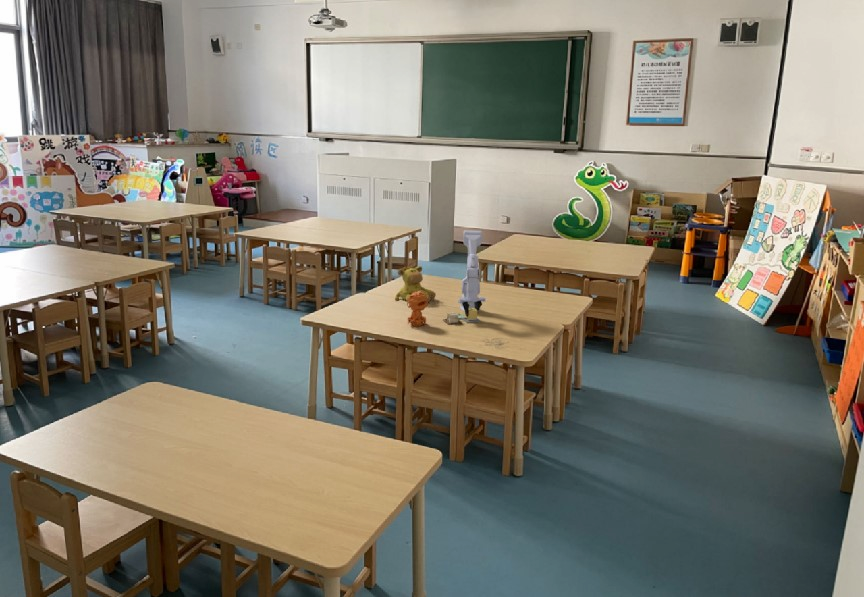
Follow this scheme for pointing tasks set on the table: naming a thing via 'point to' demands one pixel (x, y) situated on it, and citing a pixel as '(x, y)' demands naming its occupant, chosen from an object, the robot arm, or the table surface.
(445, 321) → the tray walnut
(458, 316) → the tray sage
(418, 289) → the green plush bear
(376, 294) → the table surface
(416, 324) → the orange toy figurine
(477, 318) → the tray slate
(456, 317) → the maple block
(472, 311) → the letter cube
